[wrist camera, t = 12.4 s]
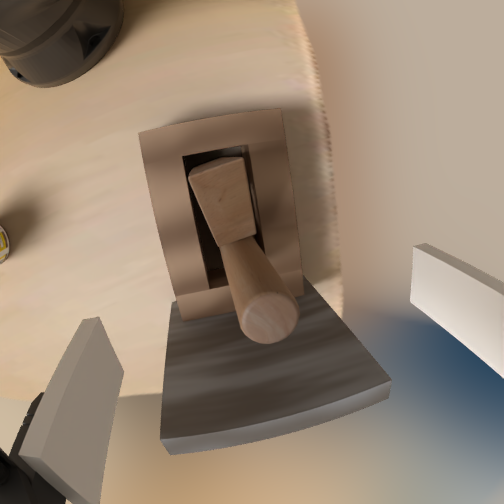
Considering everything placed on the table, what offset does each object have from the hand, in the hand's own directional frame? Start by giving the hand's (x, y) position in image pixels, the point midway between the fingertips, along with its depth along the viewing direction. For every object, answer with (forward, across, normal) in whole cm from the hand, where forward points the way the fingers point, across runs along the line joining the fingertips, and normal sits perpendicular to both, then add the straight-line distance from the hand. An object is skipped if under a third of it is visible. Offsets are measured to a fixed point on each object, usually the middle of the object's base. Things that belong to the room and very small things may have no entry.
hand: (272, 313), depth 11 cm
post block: (+23, 0, -1) cm, 23 cm away
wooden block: (+23, 0, 0) cm, 23 cm away
